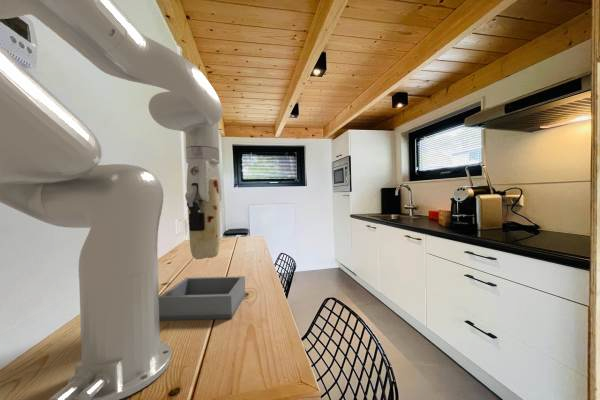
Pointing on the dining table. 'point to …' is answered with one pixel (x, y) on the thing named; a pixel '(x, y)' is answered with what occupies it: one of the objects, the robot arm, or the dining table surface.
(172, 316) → the bin
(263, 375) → the dining table surface
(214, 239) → the food model
